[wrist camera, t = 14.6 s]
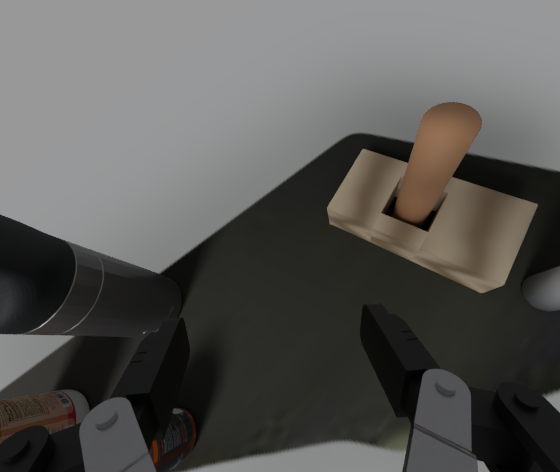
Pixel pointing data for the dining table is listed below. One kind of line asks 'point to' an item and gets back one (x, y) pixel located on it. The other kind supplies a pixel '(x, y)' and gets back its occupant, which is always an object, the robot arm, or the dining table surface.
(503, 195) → the wooden block with hole
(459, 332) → the dining table surface
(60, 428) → the white plastic bottle
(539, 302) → the short dowel
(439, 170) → the long dowel
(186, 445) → the supplement bottle
